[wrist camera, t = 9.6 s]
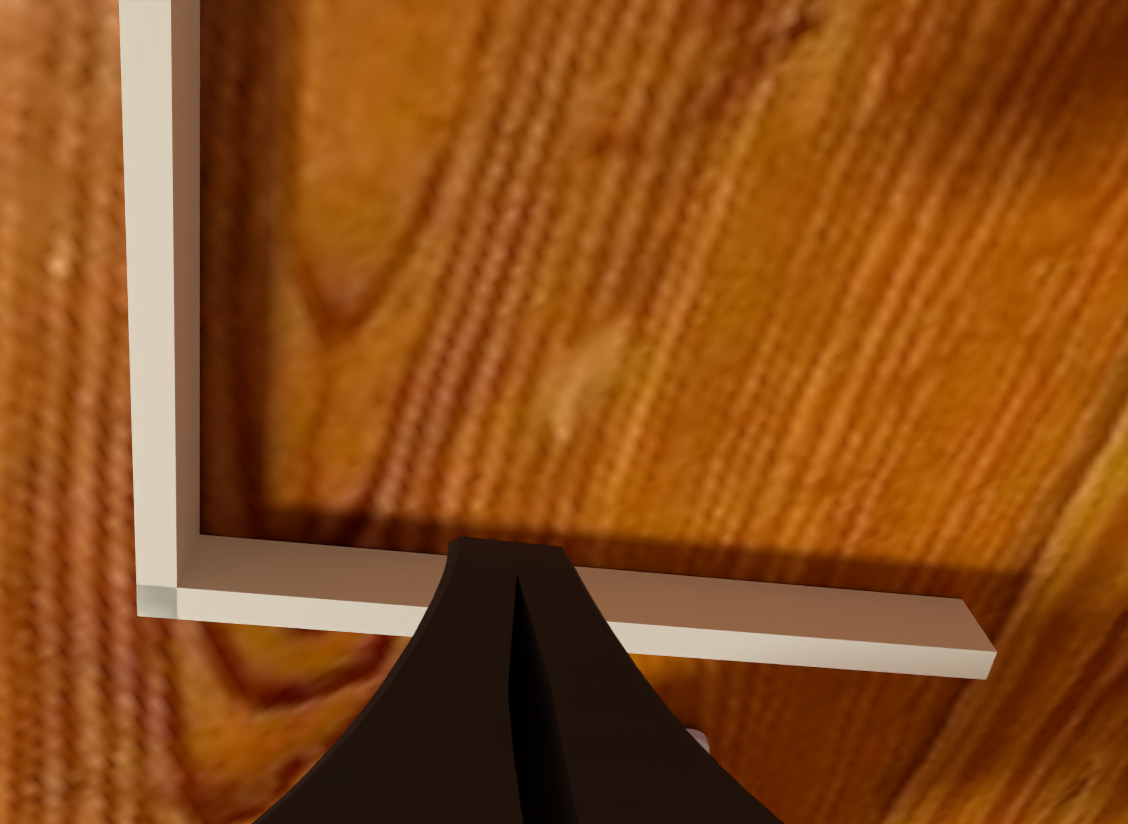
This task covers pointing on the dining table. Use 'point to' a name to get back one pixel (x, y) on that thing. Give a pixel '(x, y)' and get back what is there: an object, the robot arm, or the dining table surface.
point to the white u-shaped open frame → (380, 577)
